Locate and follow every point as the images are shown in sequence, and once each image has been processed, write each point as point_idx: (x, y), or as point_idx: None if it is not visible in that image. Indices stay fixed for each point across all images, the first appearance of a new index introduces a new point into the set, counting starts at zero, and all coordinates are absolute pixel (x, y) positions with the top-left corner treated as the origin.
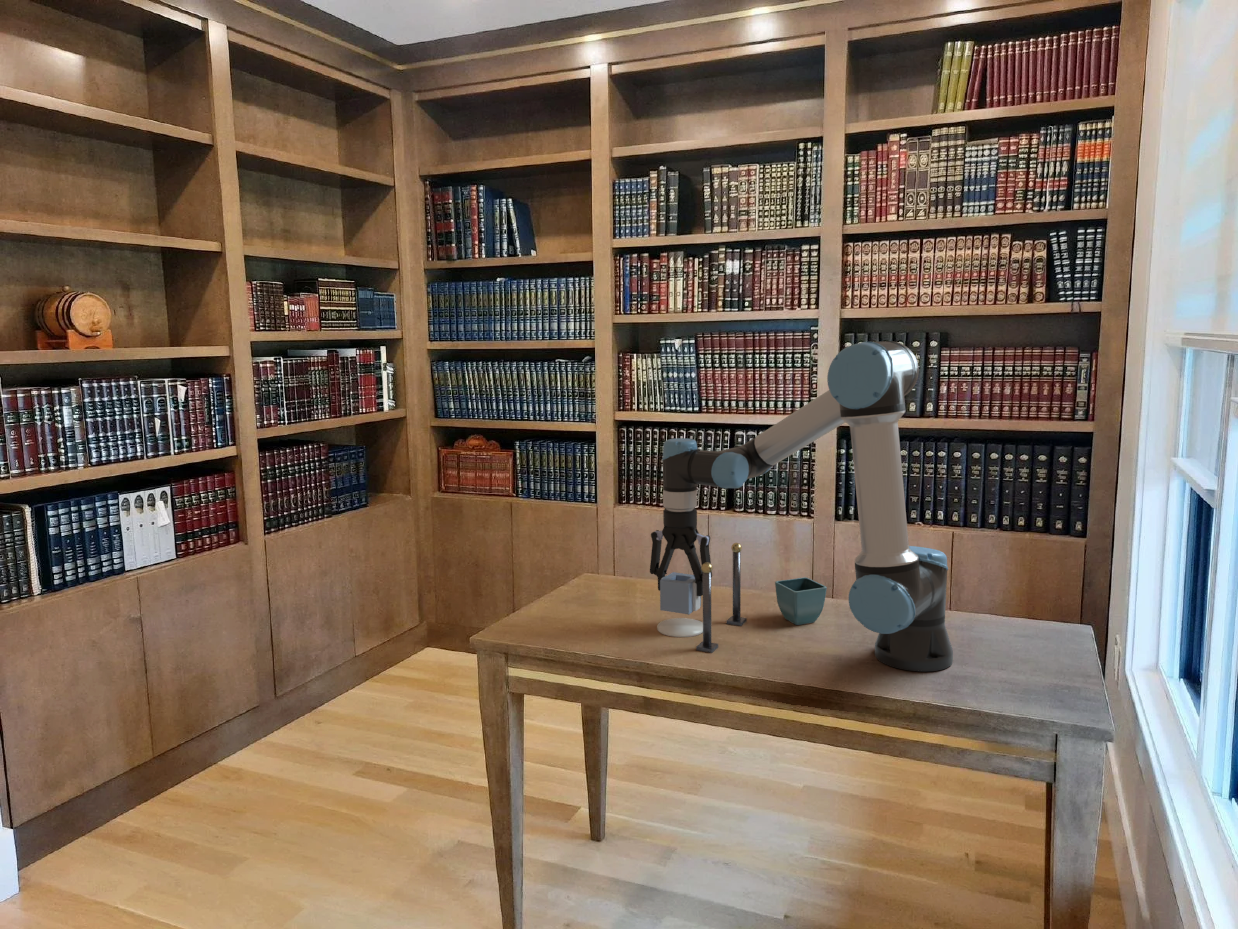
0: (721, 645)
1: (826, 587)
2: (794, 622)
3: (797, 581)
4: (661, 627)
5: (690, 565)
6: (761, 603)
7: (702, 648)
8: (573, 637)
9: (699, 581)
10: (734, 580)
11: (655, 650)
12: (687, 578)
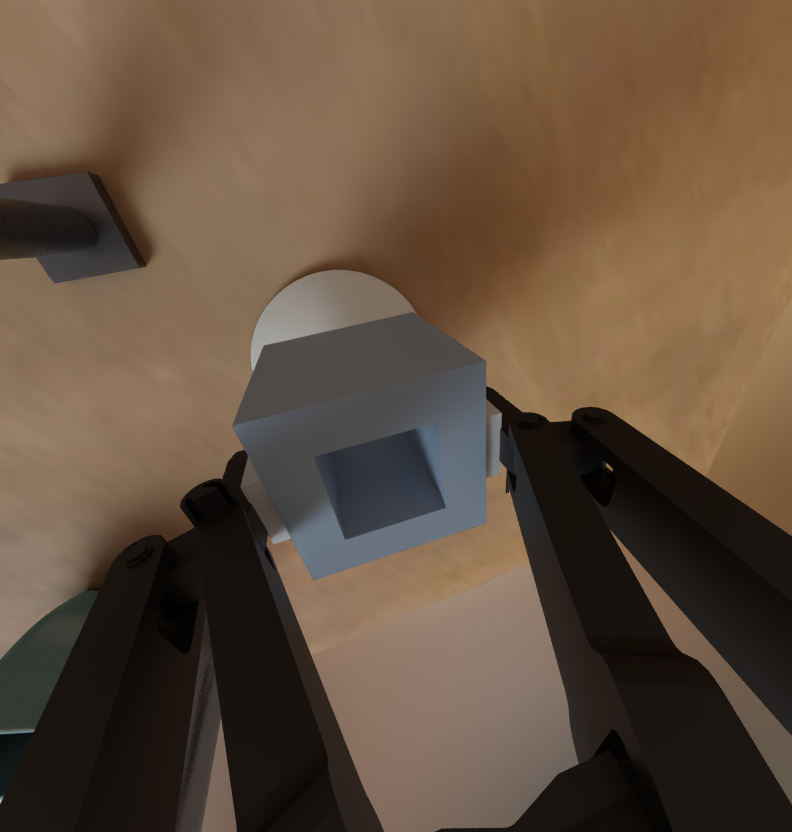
0: (81, 311)
1: None
2: (86, 595)
3: None
4: (395, 309)
5: (274, 607)
6: (300, 611)
7: (51, 179)
8: None
9: (181, 503)
10: (204, 650)
11: (251, 36)
12: (371, 520)
